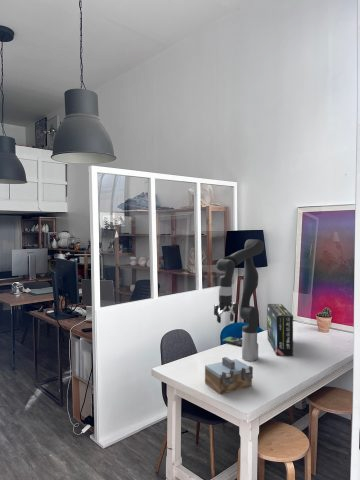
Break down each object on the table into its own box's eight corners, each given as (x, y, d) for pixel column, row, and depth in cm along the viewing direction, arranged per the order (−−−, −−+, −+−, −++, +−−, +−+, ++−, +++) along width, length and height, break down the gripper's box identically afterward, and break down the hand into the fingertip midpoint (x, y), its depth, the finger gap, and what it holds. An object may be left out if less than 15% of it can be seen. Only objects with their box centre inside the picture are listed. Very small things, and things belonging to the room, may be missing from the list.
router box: (266, 339, 268) (266, 303, 267) (281, 339, 267) (281, 303, 266) (276, 356, 232) (276, 315, 231) (293, 356, 232) (294, 315, 231)
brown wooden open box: (235, 376, 201) (235, 356, 200) (254, 387, 186) (254, 366, 186) (205, 383, 191) (205, 362, 191) (222, 395, 177) (222, 373, 177)
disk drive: (247, 343, 259) (229, 339, 268) (247, 340, 258) (229, 336, 267) (240, 347, 250) (221, 343, 259) (240, 343, 250) (222, 339, 259)
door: (236, 362, 200) (236, 352, 200) (254, 372, 186) (254, 362, 186) (205, 368, 191) (205, 358, 191) (221, 379, 177) (222, 369, 177)
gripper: (231, 291, 215) (231, 318, 215) (211, 293, 208) (211, 321, 209) (239, 294, 208) (239, 321, 209) (218, 296, 202) (218, 324, 202)
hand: (225, 321), depth 209 cm, fingers open, 8 cm apart
